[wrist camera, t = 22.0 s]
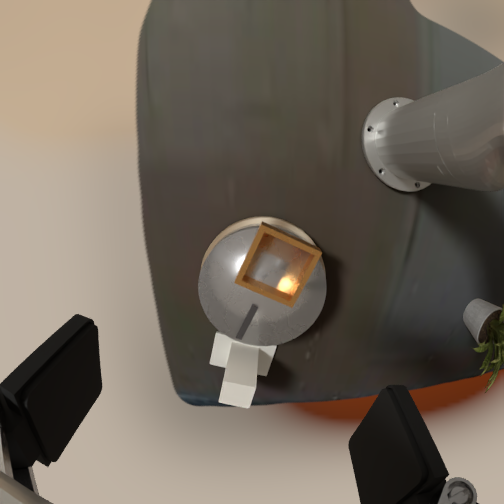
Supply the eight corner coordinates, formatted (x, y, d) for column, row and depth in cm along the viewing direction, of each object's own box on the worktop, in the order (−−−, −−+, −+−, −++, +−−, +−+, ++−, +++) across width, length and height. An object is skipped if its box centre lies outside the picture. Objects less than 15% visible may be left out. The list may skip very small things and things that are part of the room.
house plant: (430, 298, 39) (488, 355, 23) (491, 253, 36) (557, 289, 21) (446, 357, 42) (489, 415, 26) (500, 316, 39) (550, 359, 24)
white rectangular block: (231, 341, 42) (223, 380, 33) (258, 347, 42) (256, 387, 33) (227, 362, 43) (218, 402, 34) (252, 367, 43) (249, 408, 34)
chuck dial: (288, 348, 40) (290, 370, 35) (187, 306, 39) (177, 325, 34) (343, 254, 36) (353, 267, 31) (231, 202, 35) (225, 208, 30)
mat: (276, 344, 42) (276, 346, 42) (266, 374, 44) (266, 376, 43) (216, 331, 42) (216, 332, 42) (210, 362, 44) (209, 363, 43)
